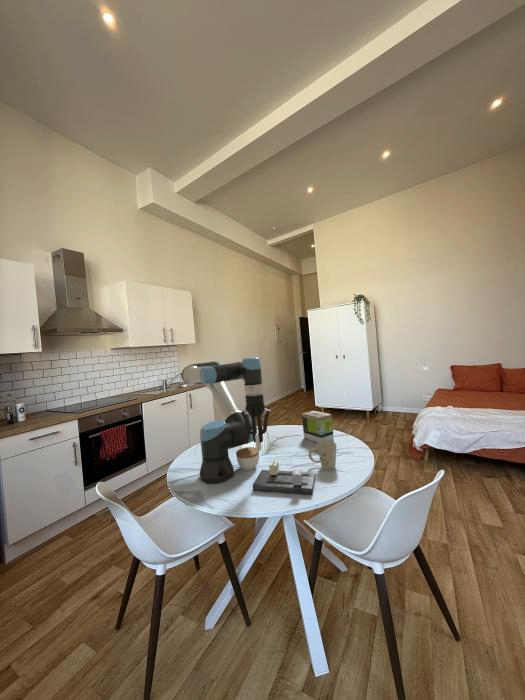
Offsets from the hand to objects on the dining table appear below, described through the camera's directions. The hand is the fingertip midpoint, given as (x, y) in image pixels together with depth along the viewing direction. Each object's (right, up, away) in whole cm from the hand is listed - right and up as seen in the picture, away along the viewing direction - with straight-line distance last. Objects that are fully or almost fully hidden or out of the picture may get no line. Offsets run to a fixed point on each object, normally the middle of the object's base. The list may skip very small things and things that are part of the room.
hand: (259, 449), depth 118 cm
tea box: (+33, -9, +42) cm, 55 cm away
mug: (+29, -10, +7) cm, 31 cm away
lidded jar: (-5, -13, +13) cm, 19 cm away
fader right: (+15, -9, -11) cm, 21 cm away
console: (+10, -12, -6) cm, 17 cm away
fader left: (+6, -9, -1) cm, 11 cm away
